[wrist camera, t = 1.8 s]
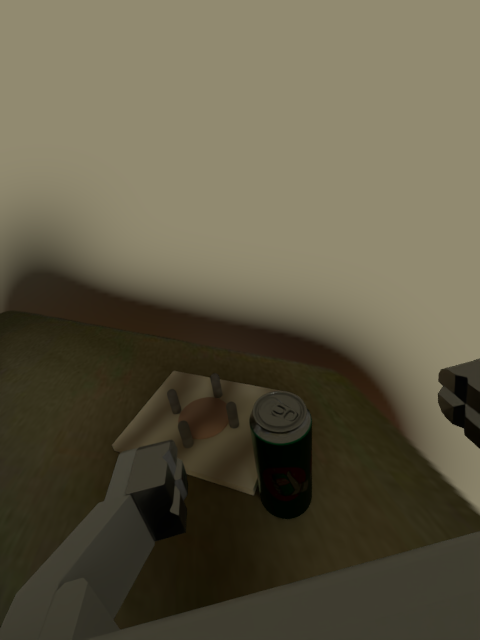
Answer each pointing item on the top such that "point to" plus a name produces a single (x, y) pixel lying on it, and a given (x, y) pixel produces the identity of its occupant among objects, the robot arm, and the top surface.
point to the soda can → (282, 453)
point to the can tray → (201, 427)
